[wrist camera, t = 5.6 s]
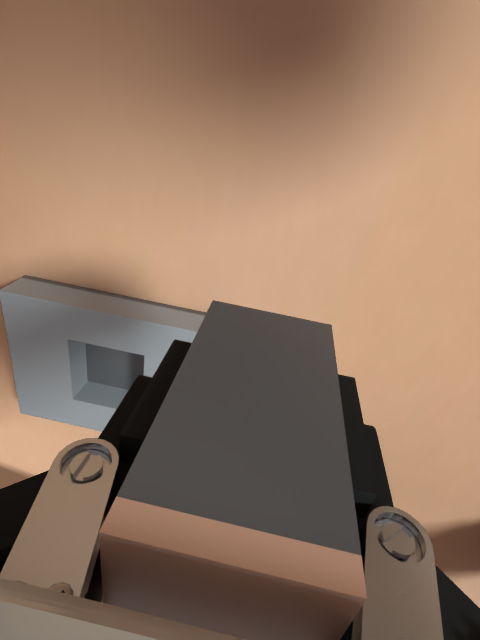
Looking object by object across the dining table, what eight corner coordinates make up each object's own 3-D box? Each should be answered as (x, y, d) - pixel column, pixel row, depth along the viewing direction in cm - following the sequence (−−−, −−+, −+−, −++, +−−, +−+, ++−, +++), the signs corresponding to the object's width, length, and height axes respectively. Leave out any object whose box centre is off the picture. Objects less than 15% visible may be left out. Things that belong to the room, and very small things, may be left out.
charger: (331, 324, 12) (366, 598, 5) (302, 413, 14) (301, 698, 7) (212, 300, 12) (98, 532, 6) (200, 391, 14) (105, 645, 8)
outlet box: (221, 316, 29) (214, 335, 26) (205, 427, 35) (197, 452, 32) (25, 275, 30) (-2, 290, 27) (41, 391, 35) (20, 413, 33)
